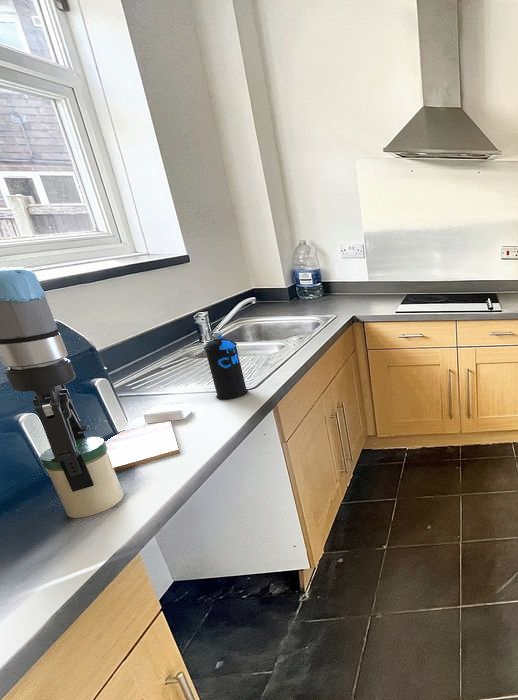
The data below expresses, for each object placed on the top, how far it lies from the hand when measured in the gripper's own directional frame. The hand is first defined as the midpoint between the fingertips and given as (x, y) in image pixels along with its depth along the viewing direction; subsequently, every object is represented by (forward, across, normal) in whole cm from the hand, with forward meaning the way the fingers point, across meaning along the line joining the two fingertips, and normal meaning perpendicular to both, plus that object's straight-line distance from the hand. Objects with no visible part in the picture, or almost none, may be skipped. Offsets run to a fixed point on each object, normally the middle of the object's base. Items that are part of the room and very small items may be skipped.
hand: (84, 475), depth 77 cm
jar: (+6, 0, 0) cm, 6 cm away
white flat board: (+6, -22, +7) cm, 24 cm away
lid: (-6, 0, 0) cm, 6 cm away
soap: (+7, -36, +14) cm, 39 cm away
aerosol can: (+7, -43, +30) cm, 53 cm away
